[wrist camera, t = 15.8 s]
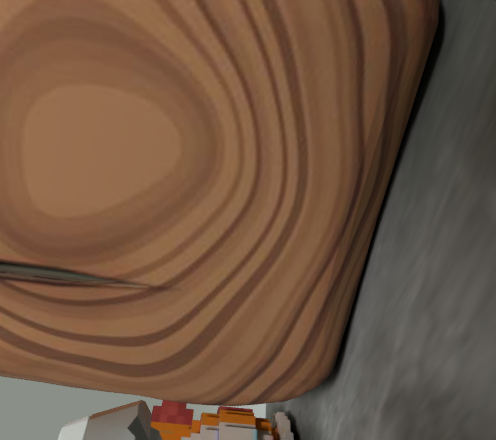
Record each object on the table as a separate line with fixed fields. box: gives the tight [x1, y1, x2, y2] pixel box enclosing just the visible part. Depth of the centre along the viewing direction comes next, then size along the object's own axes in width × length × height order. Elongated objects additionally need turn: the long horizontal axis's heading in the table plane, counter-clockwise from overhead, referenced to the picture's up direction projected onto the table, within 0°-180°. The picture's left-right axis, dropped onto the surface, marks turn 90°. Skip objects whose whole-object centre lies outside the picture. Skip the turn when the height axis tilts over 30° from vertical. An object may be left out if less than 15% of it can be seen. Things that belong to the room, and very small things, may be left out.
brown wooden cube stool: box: [0, 0, 440, 406], centre depth 49 cm, size 45×45×45 cm
